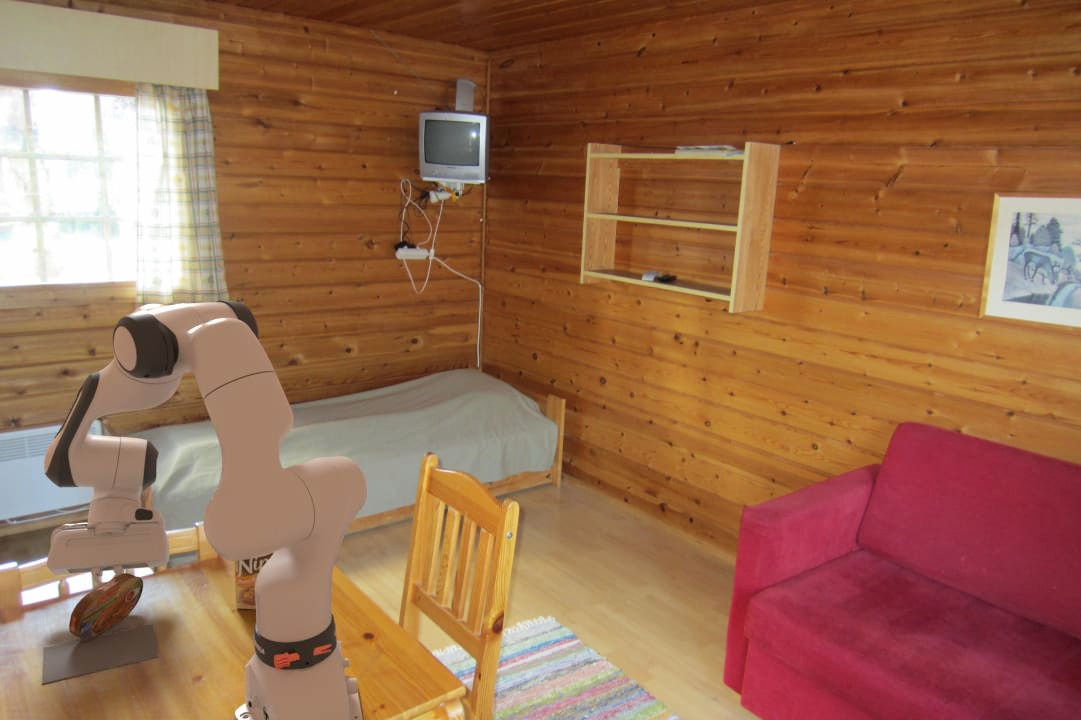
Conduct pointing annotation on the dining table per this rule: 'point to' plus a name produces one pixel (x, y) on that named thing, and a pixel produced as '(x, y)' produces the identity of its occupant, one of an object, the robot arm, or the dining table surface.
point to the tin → (105, 606)
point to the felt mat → (98, 653)
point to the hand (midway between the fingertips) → (105, 593)
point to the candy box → (248, 580)
